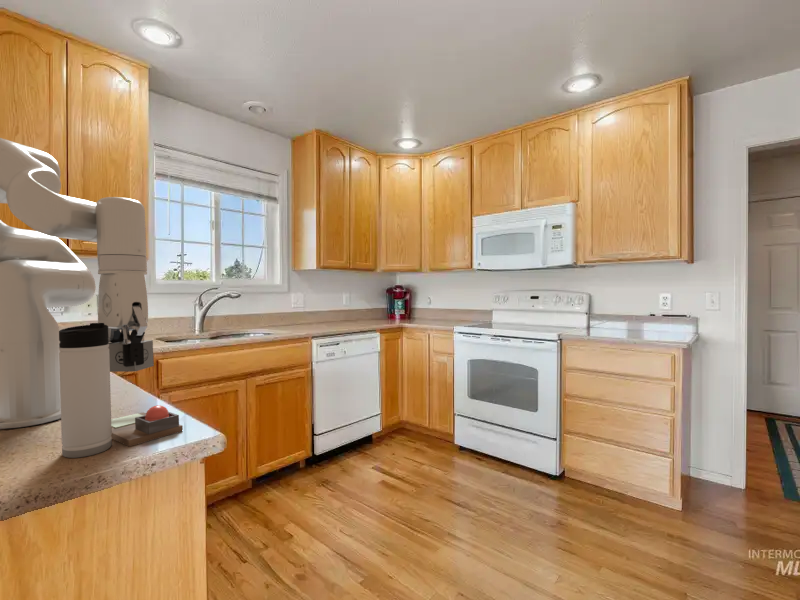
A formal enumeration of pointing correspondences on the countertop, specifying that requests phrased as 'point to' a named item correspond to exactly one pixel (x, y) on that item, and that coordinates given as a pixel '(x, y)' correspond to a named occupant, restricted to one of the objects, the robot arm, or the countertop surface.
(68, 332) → the travel mug
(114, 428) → the button base
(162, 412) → the dome
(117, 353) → the grey sad face cube
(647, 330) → the countertop surface
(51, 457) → the countertop surface
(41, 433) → the countertop surface
